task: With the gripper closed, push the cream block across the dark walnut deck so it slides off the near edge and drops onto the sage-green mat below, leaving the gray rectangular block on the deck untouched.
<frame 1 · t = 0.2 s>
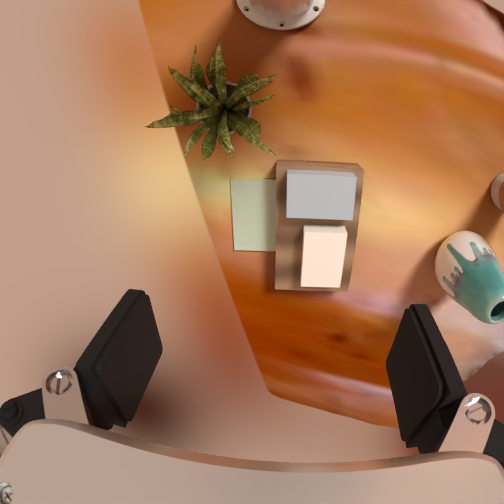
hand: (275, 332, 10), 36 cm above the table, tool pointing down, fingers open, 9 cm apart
house plant: (241, 107, 40), on the table
deck: (315, 223, 47), on the table
coffee cup: (500, 189, 39), on the table
mat: (254, 215, 48), on the table
cream block: (321, 252, 45), point 4 cm above the table, touching deck
vase: (454, 251, 46), on the table
gray rectangular block: (319, 191, 40), point 4 cm above the table, touching deck
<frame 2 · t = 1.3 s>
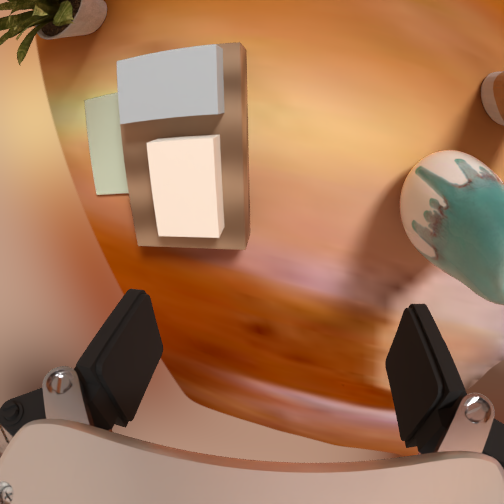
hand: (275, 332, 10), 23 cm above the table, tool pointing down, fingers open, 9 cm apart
house plant: (99, 14, 23), on the table
deck: (191, 145, 30), on the table
coffee cup: (497, 98, 22), on the table
mat: (114, 144, 31), on the table
cream block: (191, 182, 28), point 4 cm above the table, touching deck
vase: (434, 192, 29), on the table
gray rectangular block: (174, 84, 23), point 4 cm above the table, touching deck
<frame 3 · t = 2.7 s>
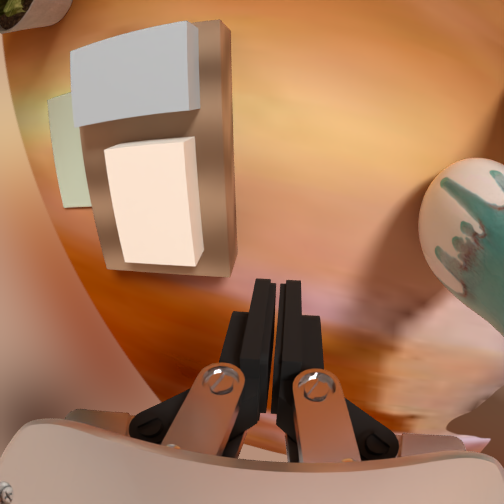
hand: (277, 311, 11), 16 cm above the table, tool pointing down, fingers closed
house plant: (65, 1, 17), on the table
deck: (165, 149, 24), on the table
mat: (79, 149, 25), on the table
cream block: (161, 196, 22), point 4 cm above the table, touching deck
vase: (456, 206, 24), on the table
gray rectangular block: (139, 76, 18), point 4 cm above the table, touching deck
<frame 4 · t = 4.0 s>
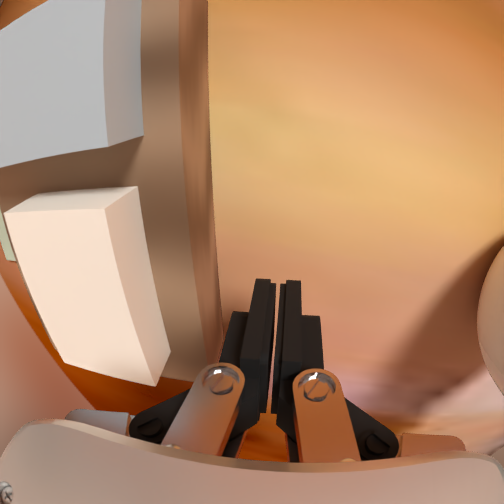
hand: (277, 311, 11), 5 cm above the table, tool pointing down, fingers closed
deck: (112, 193, 16), on the table
mat: (13, 188, 16), on the table
cream block: (101, 277, 14), point 4 cm above the table, touching deck
gray rectangular block: (53, 84, 9), point 4 cm above the table, touching deck
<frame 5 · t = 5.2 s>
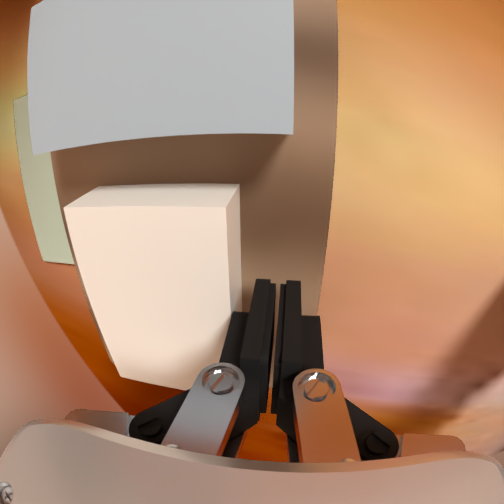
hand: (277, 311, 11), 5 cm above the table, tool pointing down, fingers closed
deck: (200, 188, 15), on the table
mat: (59, 178, 16), on the table
cream block: (174, 282, 13), point 4 cm above the table, touching gripper
gray rectangular block: (163, 51, 9), point 4 cm above the table, touching deck
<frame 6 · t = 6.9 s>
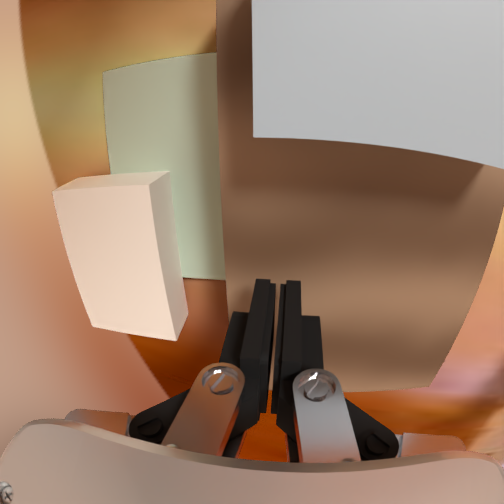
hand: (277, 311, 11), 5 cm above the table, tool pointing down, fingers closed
deck: (359, 197, 14), on the table
mat: (171, 173, 15), on the table
cream block: (111, 270, 15), point 3 cm above the table, tilted 180°, touching mat
gray rectangular block: (393, 57, 8), point 4 cm above the table, touching deck
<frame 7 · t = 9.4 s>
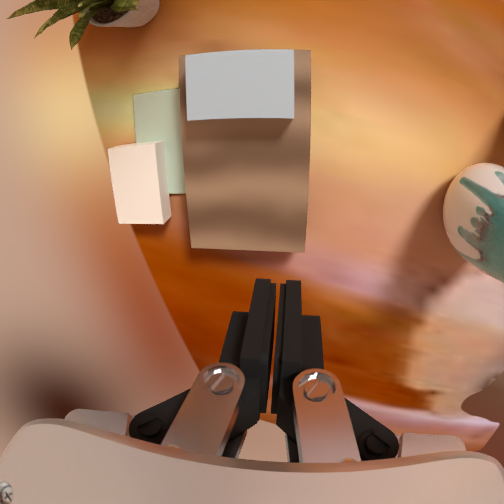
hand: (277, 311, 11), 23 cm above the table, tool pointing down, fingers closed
house plant: (150, 7, 24), on the table
deck: (249, 147, 31), on the table
mat: (165, 142, 31), on the table
cream block: (134, 186, 31), point 3 cm above the table, tilted 180°, touching mat
vase: (469, 201, 30), on the table
gray rectangular block: (243, 85, 24), point 4 cm above the table, touching deck
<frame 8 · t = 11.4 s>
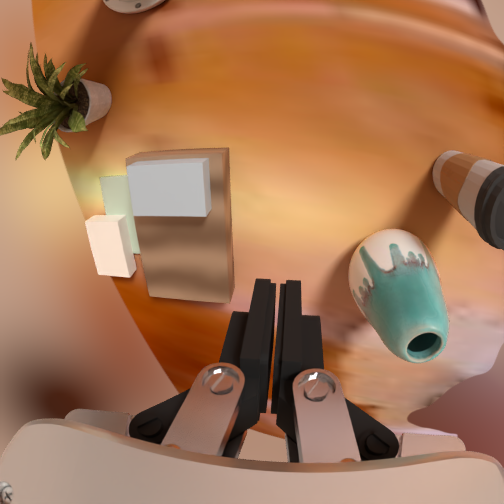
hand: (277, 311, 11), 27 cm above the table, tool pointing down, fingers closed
house plant: (105, 100, 33), on the table
deck: (188, 222, 40), on the table
coffee cup: (449, 172, 32), on the table
mat: (126, 215, 41), on the table
cream block: (106, 249, 41), point 3 cm above the table, tilted 180°, touching mat
vase: (383, 256, 39), on the table
gray rectangular block: (172, 184, 34), point 4 cm above the table, touching deck
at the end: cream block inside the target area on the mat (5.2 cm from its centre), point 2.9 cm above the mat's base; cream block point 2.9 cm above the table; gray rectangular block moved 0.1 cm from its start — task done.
